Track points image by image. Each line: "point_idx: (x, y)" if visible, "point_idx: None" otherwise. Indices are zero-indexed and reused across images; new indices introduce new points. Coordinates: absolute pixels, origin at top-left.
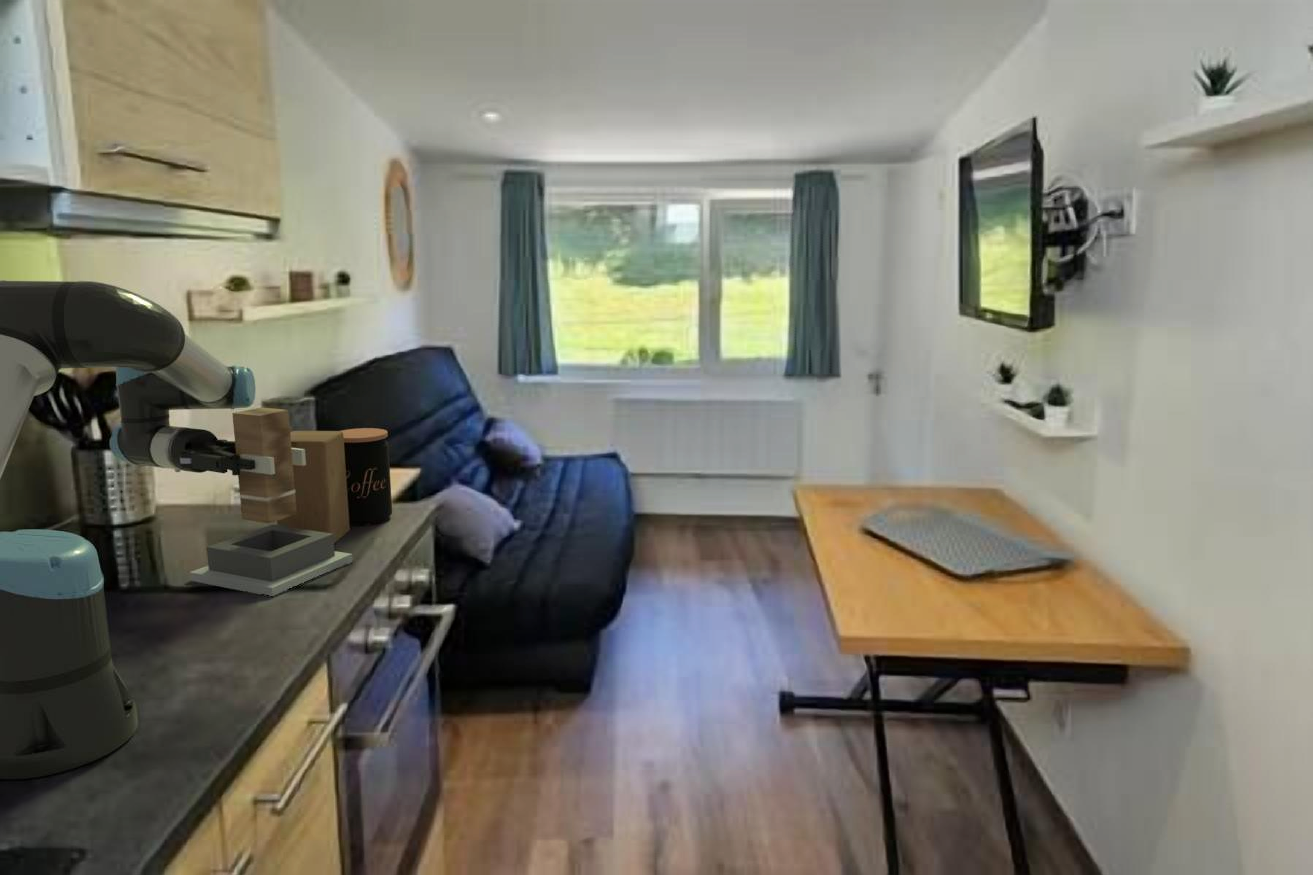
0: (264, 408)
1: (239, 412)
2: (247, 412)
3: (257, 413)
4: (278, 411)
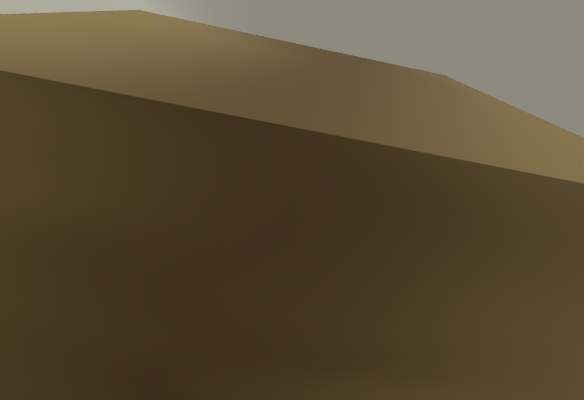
0: (9, 30)
1: (579, 160)
2: (457, 110)
3: (401, 77)
4: (231, 31)
